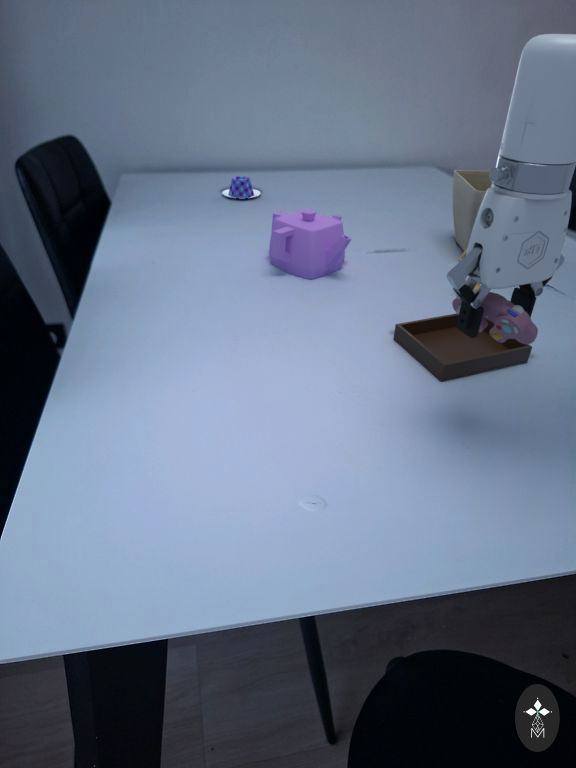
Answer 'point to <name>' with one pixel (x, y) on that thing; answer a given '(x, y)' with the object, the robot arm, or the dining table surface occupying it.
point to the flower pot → (467, 201)
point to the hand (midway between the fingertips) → (492, 326)
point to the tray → (457, 348)
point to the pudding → (241, 188)
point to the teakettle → (307, 243)
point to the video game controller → (504, 319)
